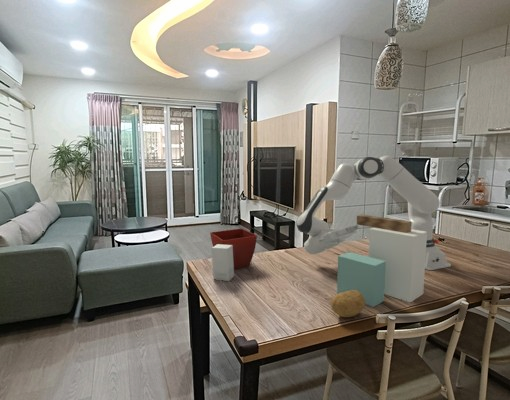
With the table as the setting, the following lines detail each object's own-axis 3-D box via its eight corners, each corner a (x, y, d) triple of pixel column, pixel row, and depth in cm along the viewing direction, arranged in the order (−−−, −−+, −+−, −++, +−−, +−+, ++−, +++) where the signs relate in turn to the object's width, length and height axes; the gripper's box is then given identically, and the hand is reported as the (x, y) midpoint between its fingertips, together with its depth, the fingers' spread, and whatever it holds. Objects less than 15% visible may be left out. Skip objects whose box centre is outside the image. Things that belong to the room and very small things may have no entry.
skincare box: (234, 277, 150) (233, 244, 148) (228, 282, 143) (228, 248, 141) (218, 275, 152) (217, 243, 150) (212, 279, 146) (211, 247, 144)
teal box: (348, 288, 135) (349, 252, 133) (383, 300, 123) (385, 261, 121) (337, 293, 130) (338, 255, 128) (373, 307, 118) (375, 265, 116)
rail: (356, 224, 141) (356, 215, 140) (361, 223, 143) (361, 214, 143) (406, 232, 124) (407, 222, 124) (411, 231, 127) (411, 221, 126)
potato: (322, 315, 112) (323, 293, 111) (349, 304, 120) (349, 284, 119) (344, 327, 104) (345, 304, 103) (371, 315, 112) (372, 293, 111)
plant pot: (223, 273, 154) (222, 240, 152) (210, 262, 171) (209, 232, 169) (258, 267, 163) (258, 235, 161) (242, 257, 180) (242, 228, 177)
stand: (381, 281, 143) (383, 224, 140) (423, 293, 129) (427, 231, 126) (367, 288, 135) (369, 228, 132) (410, 302, 122) (414, 236, 118)
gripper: (314, 235, 149) (336, 225, 139) (339, 229, 162) (361, 219, 152) (319, 248, 147) (342, 238, 138) (344, 240, 161) (366, 231, 151)
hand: (352, 228), depth 145 cm, fingers open, 8 cm apart
